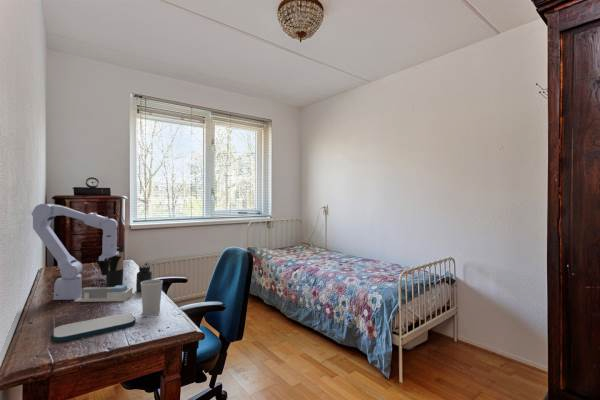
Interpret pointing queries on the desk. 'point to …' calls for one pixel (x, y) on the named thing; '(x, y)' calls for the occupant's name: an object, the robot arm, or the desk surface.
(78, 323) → the white teal rounded slab
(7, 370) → the desk surface
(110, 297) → the slider rail
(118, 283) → the travel mug
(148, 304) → the cup
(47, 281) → the desk surface
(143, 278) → the supplement bottle
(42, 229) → the robot arm
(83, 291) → the blue-capped grey bar
